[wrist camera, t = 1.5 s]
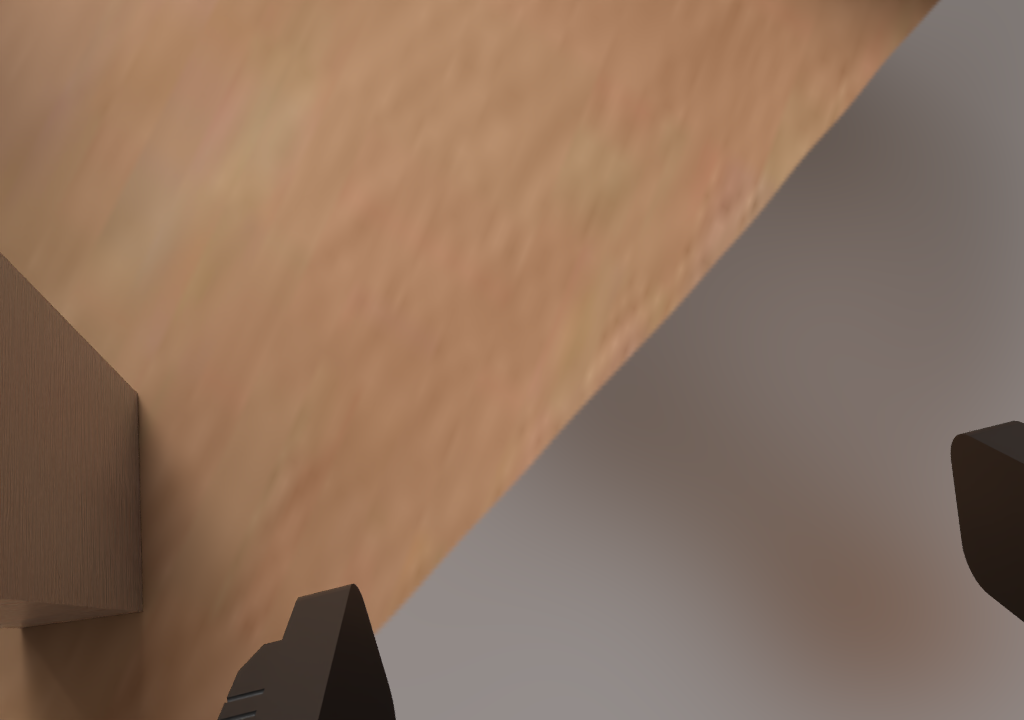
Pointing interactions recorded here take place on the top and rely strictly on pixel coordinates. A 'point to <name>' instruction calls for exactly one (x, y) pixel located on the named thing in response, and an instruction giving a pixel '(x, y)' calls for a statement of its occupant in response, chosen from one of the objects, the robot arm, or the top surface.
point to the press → (63, 470)
